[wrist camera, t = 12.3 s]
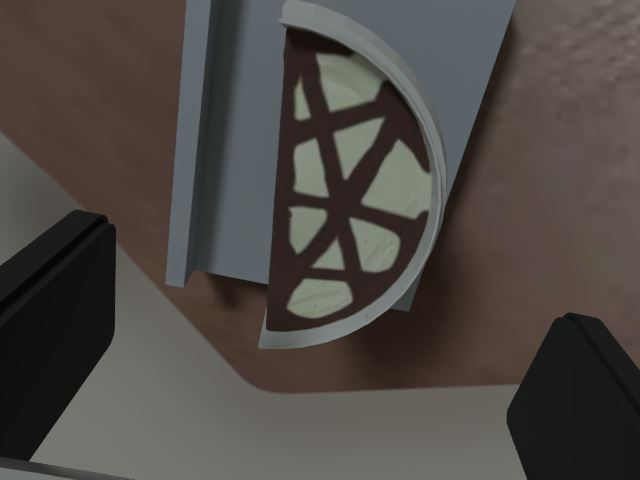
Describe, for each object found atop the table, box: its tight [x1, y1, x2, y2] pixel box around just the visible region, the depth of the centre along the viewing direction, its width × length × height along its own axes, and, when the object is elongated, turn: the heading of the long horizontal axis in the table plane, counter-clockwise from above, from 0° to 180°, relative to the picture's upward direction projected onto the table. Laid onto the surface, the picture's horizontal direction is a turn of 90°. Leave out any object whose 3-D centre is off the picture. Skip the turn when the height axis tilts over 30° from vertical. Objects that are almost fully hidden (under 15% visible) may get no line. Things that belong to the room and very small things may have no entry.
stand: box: [166, 0, 516, 312], centre depth 25 cm, size 14×18×5 cm
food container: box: [258, 0, 447, 349], centre depth 20 cm, size 12×6×10 cm, turn 174°
